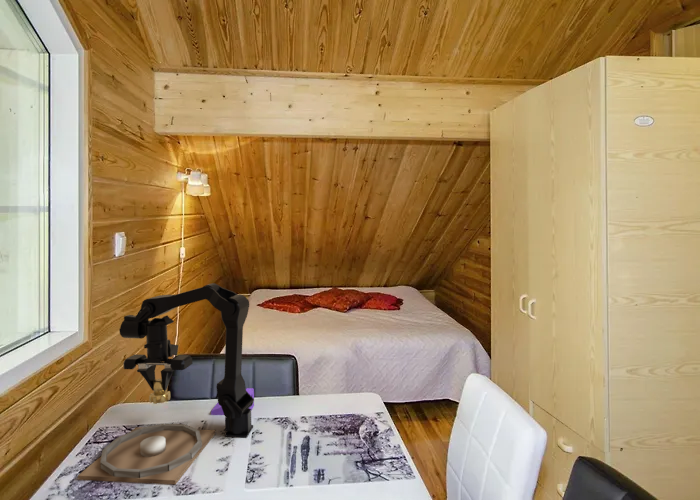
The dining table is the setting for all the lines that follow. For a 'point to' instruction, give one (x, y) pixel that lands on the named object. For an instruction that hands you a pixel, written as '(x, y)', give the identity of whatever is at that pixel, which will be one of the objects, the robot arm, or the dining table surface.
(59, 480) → the dining table surface
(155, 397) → the gear
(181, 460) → the carrier
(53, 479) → the dining table surface
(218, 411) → the bracket
